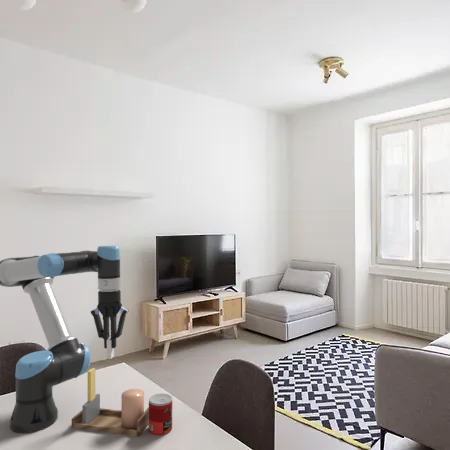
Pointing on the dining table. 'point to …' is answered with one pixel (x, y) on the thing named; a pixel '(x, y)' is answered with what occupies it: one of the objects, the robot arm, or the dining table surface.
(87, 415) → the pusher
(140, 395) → the peach rounded capsule
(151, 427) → the canned food
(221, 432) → the dining table surface
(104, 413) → the brown wooden tray
